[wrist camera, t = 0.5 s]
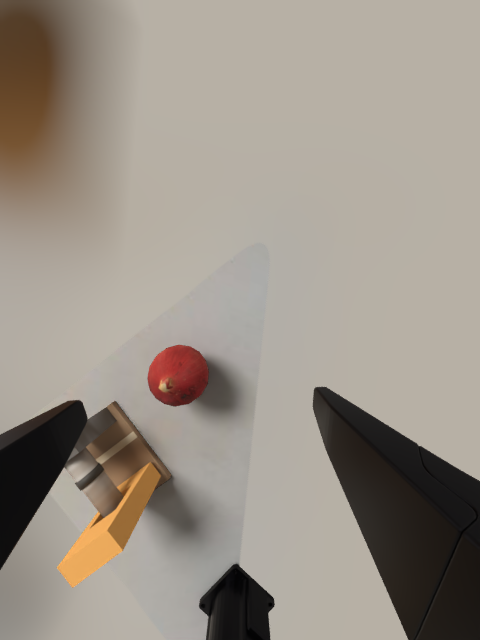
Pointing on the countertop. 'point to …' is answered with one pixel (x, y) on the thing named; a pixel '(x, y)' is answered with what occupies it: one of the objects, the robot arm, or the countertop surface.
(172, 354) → the onion
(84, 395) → the countertop surface
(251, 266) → the countertop surface
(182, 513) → the countertop surface
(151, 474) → the collar
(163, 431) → the countertop surface
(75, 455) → the pipe stand
